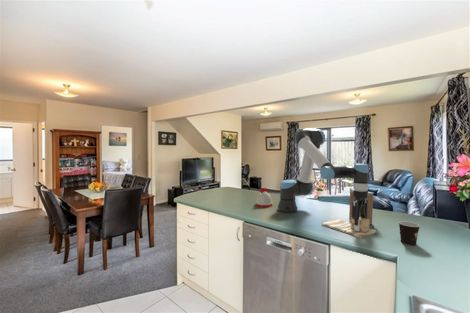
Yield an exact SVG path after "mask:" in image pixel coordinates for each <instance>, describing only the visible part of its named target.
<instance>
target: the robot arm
mask: <svg viewBox="0 0 470 313" xmlns="http://www.w3.org/2000/svg"><path fill="white" fill-rule="evenodd" d="M294 141H295V144H296V145H297V147H299V149H302V150H303V151H304V152H303V158H302V162H301V167H300V170H299V176H297V177H296V180H295V179H284V180H282V181H280V184H279V185H280V186H279V189H280V190H279V192H280V193H279V202H278V205H277V210H278V211H279V212H283V213H296V212H298V206H297V202H296V197H303V196H310V195H311V194H312V193H313V191H314V187H315V186H314V183H313V180H312V179H311V178H312V175H313V174H312V173H313V169H314V165H316V167H317V168H318V169H319V175H320V177H321V178H322V179H323V180H334V179H335V180H336V179H350V180H351V179H352V180H353V186H352V187H353V196H354V197H355V202H352V219H354V230H356V231H360V220H359V216H360V215H361V217H362V218H367V217H366V216H367V212H368V200H366V199H365V198H367V197H368V193H369V173H370V172H369V165H368V164H367V163H354V164H353V166H351V165H345V164H344V165H336V166H335V165H333V164H332V163H331V162H330V160H329V159H328V158H327V157H326V156H325V155H324V153H322V152H321V151H320V148H321V146H322V145H323V144H325V141H326V134H325V132H324V131H323V130H322V129H319V128H301V129H298V131H297V132H296V134H295V136H294ZM358 206H359V207H358Z"/></svg>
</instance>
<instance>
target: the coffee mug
mask: <svg viewBox="0 0 470 313" xmlns="http://www.w3.org/2000/svg"><path fill="white" fill-rule="evenodd" d="M398 227H399V235H400V237H399V238H400V242H401V243H402V244H403V243H404V245H406V244H407V246H413V247H414V246H416V245H417V243H418V242H417V240H418V236H419V232H420V231H419V230H420V225H419V223H415V222H412V221H404V220H403V221H399V222H398Z"/></svg>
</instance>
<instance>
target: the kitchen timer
mask: <svg viewBox="0 0 470 313" xmlns="http://www.w3.org/2000/svg"><path fill="white" fill-rule="evenodd" d="M259 191H260V193H259V194H258V195H257V198H256V200H255V206H257V207H260V208H270V207H271V208H272V206H273V199H272V197H271V195H270V193H268V192H269V189H268V188H266V187H261V188H260V189H259Z"/></svg>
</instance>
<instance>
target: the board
mask: <svg viewBox="0 0 470 313" xmlns="http://www.w3.org/2000/svg"><path fill="white" fill-rule="evenodd" d="M321 225H322V226H323V225H324V226H323V227H326V226H327V228H329V227H330V228H329V229H332V228H333V230H335V229H336V231H338V230H339V232H341V231H342V232H341V233H344V234H347V233H348V235H350V234H351V235H350V236H353V235H354V237H356V236H357V237H356V238H359V237H360V239H363V238H365V237H368V236H371V235H373V234H376V233H377V230H376V229H373V228H370V227H369V232H367V233H362V232H359V231H356V230H352V229H351V222H349V221H346V220H343V219H338V218H335V219H331V220H328V221H325V222H323V223H322V224H321Z"/></svg>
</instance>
